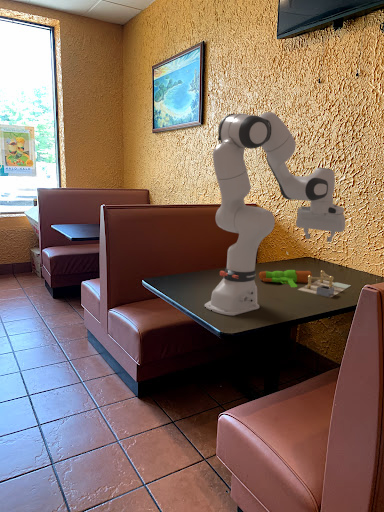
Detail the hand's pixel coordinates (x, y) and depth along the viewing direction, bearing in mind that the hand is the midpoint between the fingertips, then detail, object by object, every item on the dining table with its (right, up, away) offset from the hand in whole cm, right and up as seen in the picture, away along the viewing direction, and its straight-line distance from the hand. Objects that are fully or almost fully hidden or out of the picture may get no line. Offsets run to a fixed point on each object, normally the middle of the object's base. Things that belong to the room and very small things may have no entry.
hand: (318, 240), depth 161 cm
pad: (+16, -21, +15) cm, 30 cm away
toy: (-10, -21, +18) cm, 30 cm away
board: (+7, -23, +12) cm, 26 cm away
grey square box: (+4, -23, +2) cm, 24 cm away
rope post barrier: (+6, -21, +12) cm, 25 cm away
